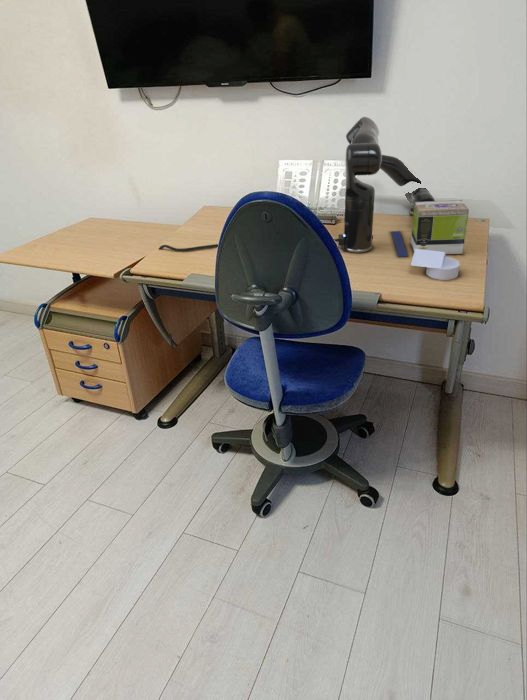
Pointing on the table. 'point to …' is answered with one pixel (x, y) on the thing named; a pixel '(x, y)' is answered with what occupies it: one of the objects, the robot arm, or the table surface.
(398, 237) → the ruler
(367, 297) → the table surface
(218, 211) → the table surface
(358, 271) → the table surface
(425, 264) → the wedge on round base
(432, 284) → the table surface
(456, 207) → the tea box
